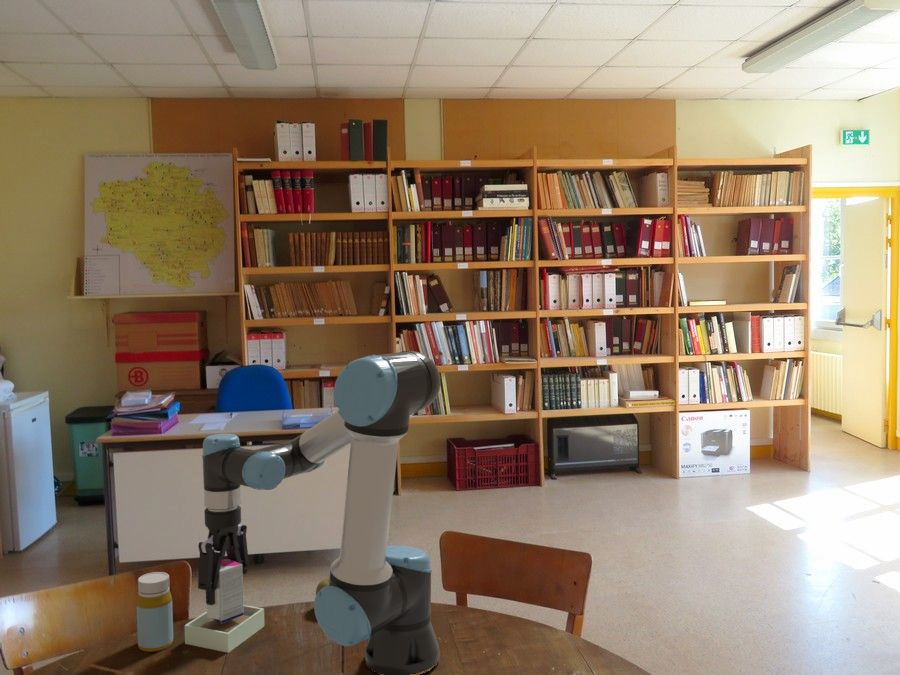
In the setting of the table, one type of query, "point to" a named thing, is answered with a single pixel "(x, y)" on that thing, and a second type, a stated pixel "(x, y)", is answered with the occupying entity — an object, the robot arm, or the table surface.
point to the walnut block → (224, 624)
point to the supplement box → (230, 590)
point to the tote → (223, 639)
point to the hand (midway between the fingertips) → (225, 610)
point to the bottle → (154, 612)
